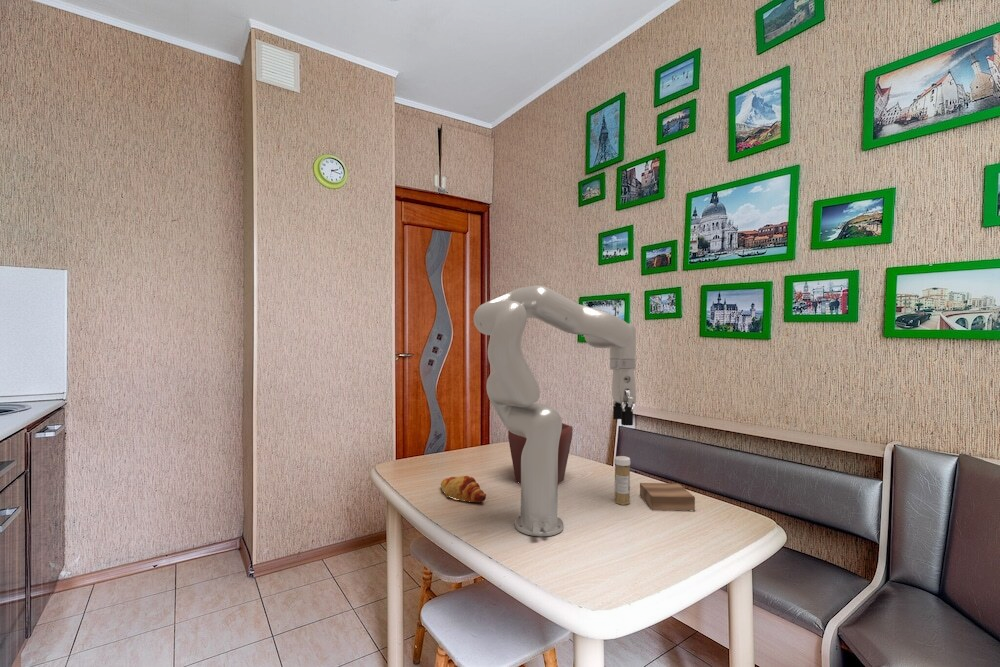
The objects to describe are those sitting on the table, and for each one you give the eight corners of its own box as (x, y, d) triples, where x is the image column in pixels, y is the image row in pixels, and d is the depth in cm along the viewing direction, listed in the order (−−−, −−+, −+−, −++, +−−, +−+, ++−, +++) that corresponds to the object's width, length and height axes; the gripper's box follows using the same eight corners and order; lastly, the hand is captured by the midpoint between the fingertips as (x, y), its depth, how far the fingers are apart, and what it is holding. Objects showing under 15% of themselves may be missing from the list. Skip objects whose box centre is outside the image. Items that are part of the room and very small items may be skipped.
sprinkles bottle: (618, 498, 136) (619, 454, 136) (632, 502, 133) (633, 457, 133) (611, 502, 132) (611, 457, 133) (625, 506, 129) (625, 460, 130)
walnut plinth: (694, 511, 126) (694, 497, 126) (652, 510, 126) (652, 496, 127) (678, 496, 138) (678, 483, 138) (639, 495, 138) (639, 483, 138)
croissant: (434, 500, 143) (425, 481, 141) (456, 480, 149) (447, 460, 147) (478, 518, 128) (468, 497, 125) (500, 494, 134) (491, 473, 132)
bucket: (508, 468, 167) (509, 401, 167) (568, 469, 166) (568, 402, 166) (507, 490, 142) (508, 412, 143) (576, 492, 141) (577, 413, 142)
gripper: (644, 366, 124) (644, 427, 124) (627, 363, 142) (627, 416, 142) (617, 366, 125) (617, 427, 124) (603, 363, 142) (603, 416, 142)
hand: (622, 421), depth 133 cm, fingers open, 9 cm apart
